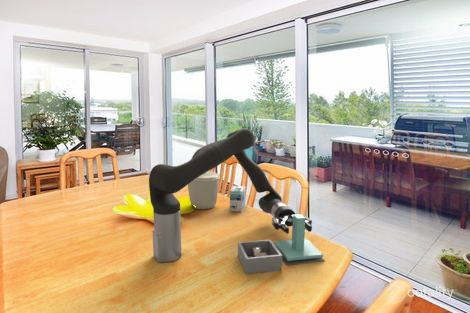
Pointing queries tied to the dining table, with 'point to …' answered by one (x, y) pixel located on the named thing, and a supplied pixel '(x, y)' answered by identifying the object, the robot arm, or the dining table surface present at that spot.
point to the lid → (298, 243)
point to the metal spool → (256, 250)
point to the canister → (204, 190)
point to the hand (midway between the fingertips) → (299, 230)
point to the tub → (259, 263)
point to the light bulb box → (237, 198)
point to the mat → (301, 260)
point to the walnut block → (260, 254)
